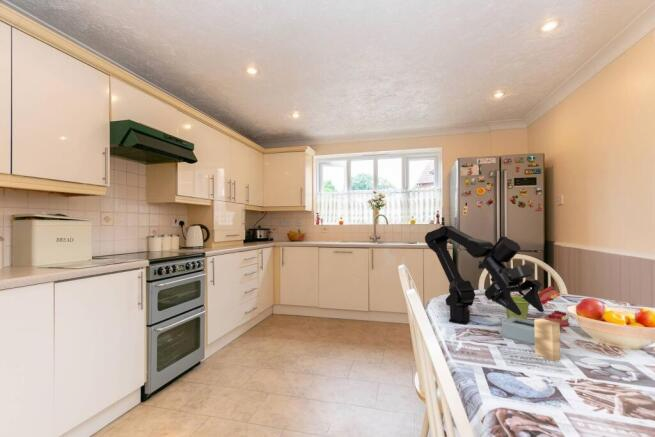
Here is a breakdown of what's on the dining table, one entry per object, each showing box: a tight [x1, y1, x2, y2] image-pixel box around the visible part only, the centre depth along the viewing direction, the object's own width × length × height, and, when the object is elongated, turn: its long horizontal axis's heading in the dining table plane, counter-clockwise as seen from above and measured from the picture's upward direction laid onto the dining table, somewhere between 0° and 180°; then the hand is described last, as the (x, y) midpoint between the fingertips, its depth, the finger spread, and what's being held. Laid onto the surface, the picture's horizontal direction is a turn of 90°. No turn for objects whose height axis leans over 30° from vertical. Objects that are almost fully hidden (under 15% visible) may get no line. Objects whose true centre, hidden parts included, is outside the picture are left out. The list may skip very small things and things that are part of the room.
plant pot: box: [505, 295, 531, 320], centre depth 117 cm, size 9×9×9 cm
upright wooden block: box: [533, 318, 561, 362], centre depth 86 cm, size 5×3×10 cm, turn 19°
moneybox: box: [501, 317, 535, 346], centre depth 100 cm, size 11×9×5 cm
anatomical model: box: [538, 285, 570, 328], centre depth 115 cm, size 10×8×15 cm
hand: (531, 313), depth 90 cm, fingers open, 9 cm apart
